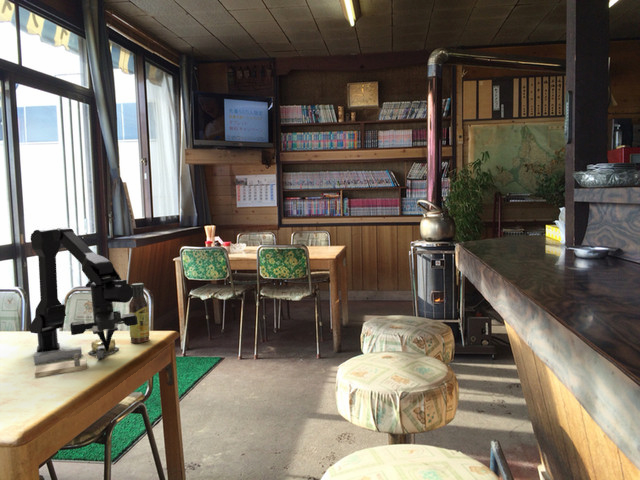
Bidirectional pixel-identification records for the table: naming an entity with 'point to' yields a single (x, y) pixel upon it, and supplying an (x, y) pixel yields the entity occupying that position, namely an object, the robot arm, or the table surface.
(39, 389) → the table surface
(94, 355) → the nut base
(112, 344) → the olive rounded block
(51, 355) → the grey bar
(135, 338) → the sauce bottle
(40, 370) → the cradle
